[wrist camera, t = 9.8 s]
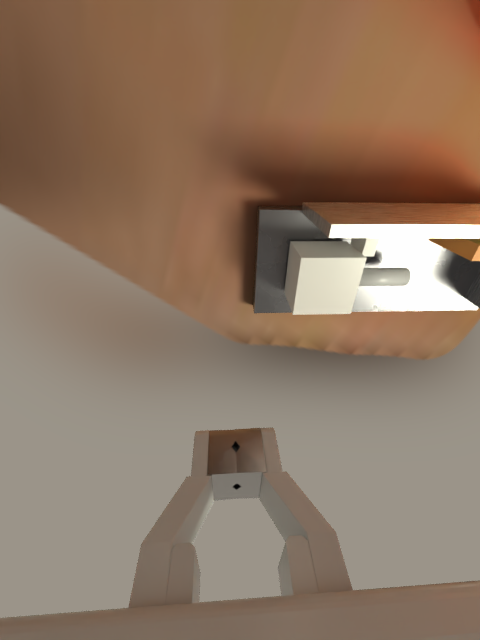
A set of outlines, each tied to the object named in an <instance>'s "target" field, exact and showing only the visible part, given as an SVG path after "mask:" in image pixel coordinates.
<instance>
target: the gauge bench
mask: <svg viewBox="0 0 480 640" xmlns="http://www.w3.org/2000/svg"><path fill="white" fill-rule="evenodd" d="M352 238H380V239H379V242H378V245H377V248H376V252H375V255H374V256H365V257H367V259H366V262H365V266H364V268H397V267H406V268H408V269H409V270H410V273H411V278H410V281H409V283H408V284H407V285H406V286H359V287H358V290H357V293H356V297H355V300H354V304H353V307H352V311H351V312H366V311H445V310H478V308H480V261H470V260H468V259H466V258H464V257H462V256H460V255H458V254H456V253H454V252H451V251H449V250H447V249H445V248H443V247H441V246H439V245H437V244H435V243H433V242H431V241H429V238H479V239H480V204H459V203H336V202H303V205H302V206H258V213H257V233H256V253H255V274H254V294H253V309H254V313H287V312H292V311H291V308H290V306H289V303H288V301H287V298H286V296H285V293H284V290H285V281H286V273H287V265H288V256H289V248H290V241H347V242H348V243H349V244H350V243H351V239H352Z"/></svg>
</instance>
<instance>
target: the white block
mask: <svg viewBox="0 0 480 640" xmlns="http://www.w3.org/2000/svg"><path fill="white" fill-rule="evenodd" d="M379 239H380V238H352V239H351V243H350V244H349V243H348V242H347V241H290V248H289V256H288V265H287V273H286V281H285V290H284V293H285V296H286V298H287V301H288V303H289V306H290V308H291V311H292V313H293V315H297V314H351V311H352V307H353V304H354V300H355V297H356V293H357V290H358V287H359V286H406V285H407V284H408V283H409V281H410V278H411V273H410V270H409V269H408V268H406V267H397V268H364V266H365V262H366V259H367V257H365V256H374V255H375V252H376V248H377V245H378V242H379Z"/></svg>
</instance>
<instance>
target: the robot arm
mask: <svg viewBox="0 0 480 640" xmlns="http://www.w3.org/2000/svg"><path fill="white" fill-rule="evenodd" d="M236 498H260V501H261V502H262V504H263V506H264V507H265V509H266V511H267V512H268V514H269V516H270V517H271V519H272V521H273V522H274V524H275V526H276V527H277V529H278V530H279V532H280V534H281V535H282V537H283V539H284V540H285V542H286V543H285V546H284V549H283V552H282V556H281V559H280V562H279V565H278V571H279V580H280V588H281V596H276V597H262V598H249V599H237V600H224V601H212V602H199V593H200V569H199V565H198V560H197V555H196V550H195V547H194V546H193V545H192V544H193V542H194V540H195V538H196V536H197V535H198V533H199V531H200V529H201V526H202V524H203V523H204V521H205V519H206V516H207V515H208V513H209V511H210V509H211V507H212V505H213V503H214V500H225V499H236ZM0 640H480V581H467V582H454V583H442V584H428V585H415V586H403V587H390V588H377V589H364V590H352V586H351V583H350V579H349V576H348V573H347V569H346V566H345V562H344V559H343V555H342V552H341V549H340V545H339V542H338V538H337V535H336V532H335V531H334V529H333V528H332V527H331V526H330V524H329V523H328V522H327V521H326V520H325V518H324V517H323V516H322V515H321V514H320V512H319V511H318V510H317V509H316V507H315V506H314V505H313V504H312V502H311V501H310V500H309V499H308V498H307V497H306V495H305V494H304V493H303V491H302V490H301V489H300V488H299V486H298V485H297V484H296V483H295V482H294V480H293V479H292V478H291V477H290V475H289V474H288V473H287V472H282V467H281V461H280V456H279V451H278V445H277V440H276V435H275V430H274V428H251V429H235V430H214V431H196V432H195V437H194V449H193V459H192V470H191V476H189V477H186V479H185V480H184V482H183V483H182V485H181V486H180V488H179V489H178V491H177V492H176V494H175V495H174V497H173V498H172V500H171V501H170V502H169V504H168V506H167V507H166V508H165V510H164V511H163V513H162V515H161V516H160V517H159V519H158V520H157V522H156V523H155V525H154V526H153V528H152V529H151V531H150V532H149V534H148V535H147V536H146V538H145V540H144V541H143V543H142V544H141V548H140V553H139V559H138V563H137V568H136V573H135V578H134V583H133V588H132V593H131V598H130V603H129V608H122V609H110V610H96V611H84V612H71V613H59V614H45V615H32V616H19V617H7V618H0Z"/></svg>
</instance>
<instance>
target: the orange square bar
mask: <svg viewBox="0 0 480 640" xmlns="http://www.w3.org/2000/svg"><path fill="white" fill-rule="evenodd" d="M429 241H431V242H433V243H435V244H437V245H439V246H441V247H443V248H445V249H447V250H449V251H451V252H454V253H456V254H458V255H460V256H462V257H464V258H466V259H468V260H470V261H480V239H479V238H429Z"/></svg>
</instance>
